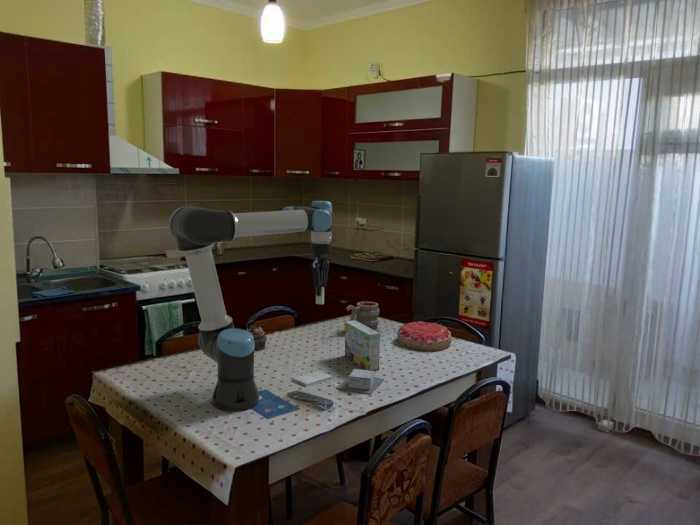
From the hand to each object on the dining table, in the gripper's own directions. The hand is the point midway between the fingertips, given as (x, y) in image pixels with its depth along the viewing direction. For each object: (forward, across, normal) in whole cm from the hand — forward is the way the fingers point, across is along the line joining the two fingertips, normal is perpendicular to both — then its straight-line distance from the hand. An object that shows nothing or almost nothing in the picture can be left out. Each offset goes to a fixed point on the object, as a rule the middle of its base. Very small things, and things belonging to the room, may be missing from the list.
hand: (319, 303), depth 213 cm
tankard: (+27, +58, +3) cm, 64 cm away
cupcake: (+27, +14, +36) cm, 47 cm away
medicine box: (+24, -4, -20) cm, 32 cm away
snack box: (+27, +16, -12) cm, 33 cm away
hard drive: (+27, -10, -2) cm, 29 cm away
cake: (+27, +56, -29) cm, 68 cm away
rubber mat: (+26, -7, -20) cm, 34 cm away
